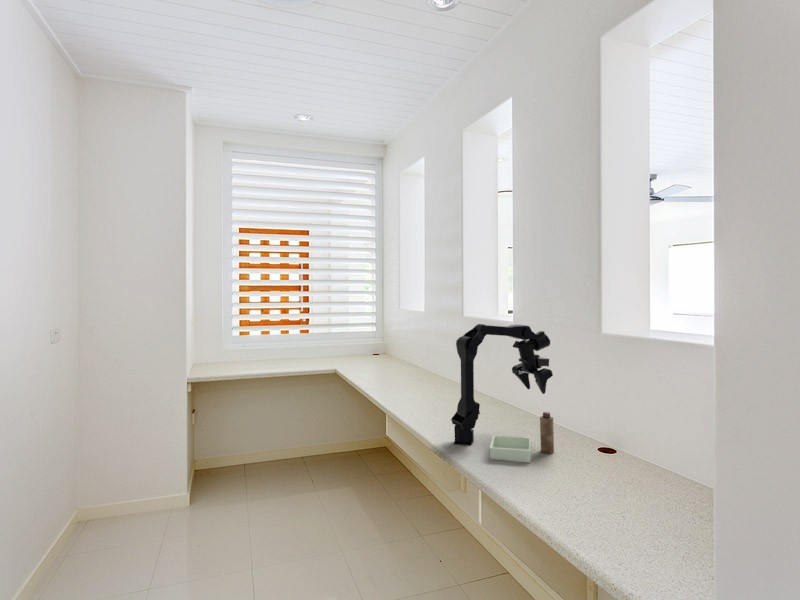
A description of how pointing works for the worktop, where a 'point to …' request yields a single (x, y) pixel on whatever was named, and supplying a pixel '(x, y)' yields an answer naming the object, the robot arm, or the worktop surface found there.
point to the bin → (510, 449)
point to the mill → (546, 433)
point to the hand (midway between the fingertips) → (536, 391)
